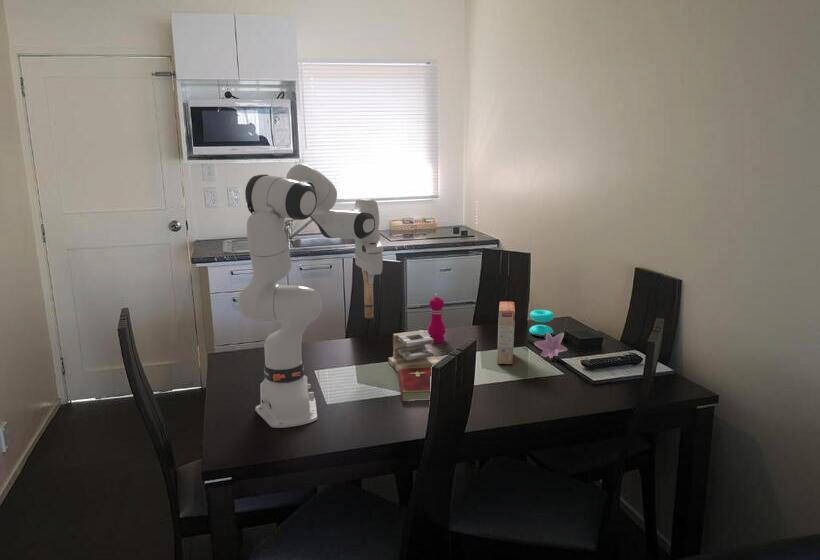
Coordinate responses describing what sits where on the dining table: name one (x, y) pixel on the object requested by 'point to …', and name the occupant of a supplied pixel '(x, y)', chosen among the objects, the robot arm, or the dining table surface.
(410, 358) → the collar stand
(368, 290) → the copper tube
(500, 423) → the dining table surface
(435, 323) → the pepper mill
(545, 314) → the donuts
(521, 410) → the dining table surface
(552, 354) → the lily
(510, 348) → the cracker box
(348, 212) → the robot arm
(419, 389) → the hardcover book
